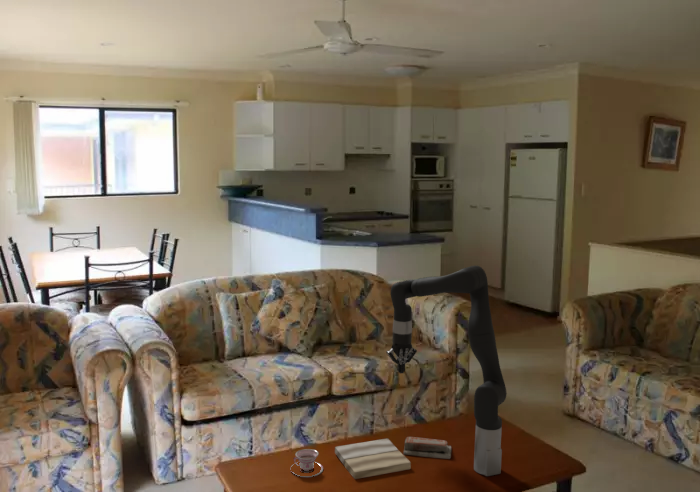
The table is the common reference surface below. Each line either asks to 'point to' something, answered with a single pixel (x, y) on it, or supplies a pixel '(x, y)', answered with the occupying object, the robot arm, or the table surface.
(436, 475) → the table surface
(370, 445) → the whitewashed plank
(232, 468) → the table surface
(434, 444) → the packaged product
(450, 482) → the table surface
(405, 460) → the oak plank
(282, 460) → the table surface
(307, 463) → the teacup
